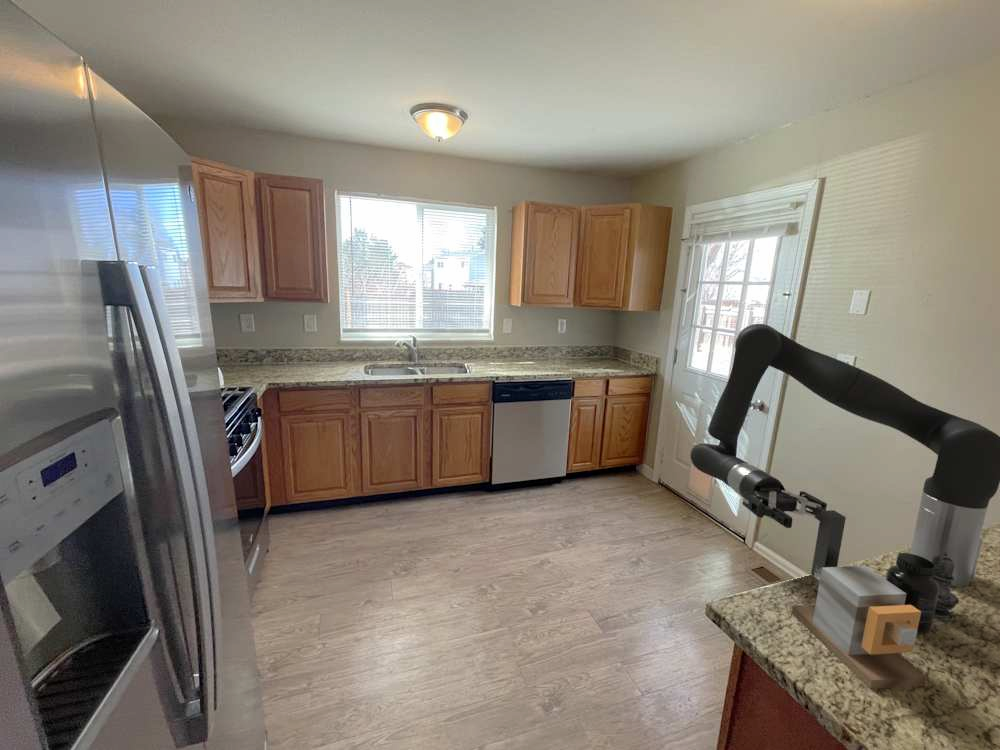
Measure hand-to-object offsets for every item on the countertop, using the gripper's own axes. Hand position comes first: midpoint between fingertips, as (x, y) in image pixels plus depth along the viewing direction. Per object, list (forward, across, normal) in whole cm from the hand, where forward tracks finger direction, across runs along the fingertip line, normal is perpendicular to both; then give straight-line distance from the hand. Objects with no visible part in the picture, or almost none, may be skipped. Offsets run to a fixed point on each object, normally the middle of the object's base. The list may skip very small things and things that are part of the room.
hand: (811, 522), depth 79 cm
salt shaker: (+4, +23, +16) cm, 29 cm away
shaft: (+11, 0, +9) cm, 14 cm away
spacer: (+16, 0, +12) cm, 20 cm away
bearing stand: (+11, 0, +16) cm, 20 cm away
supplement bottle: (+6, +15, +16) cm, 23 cm away
